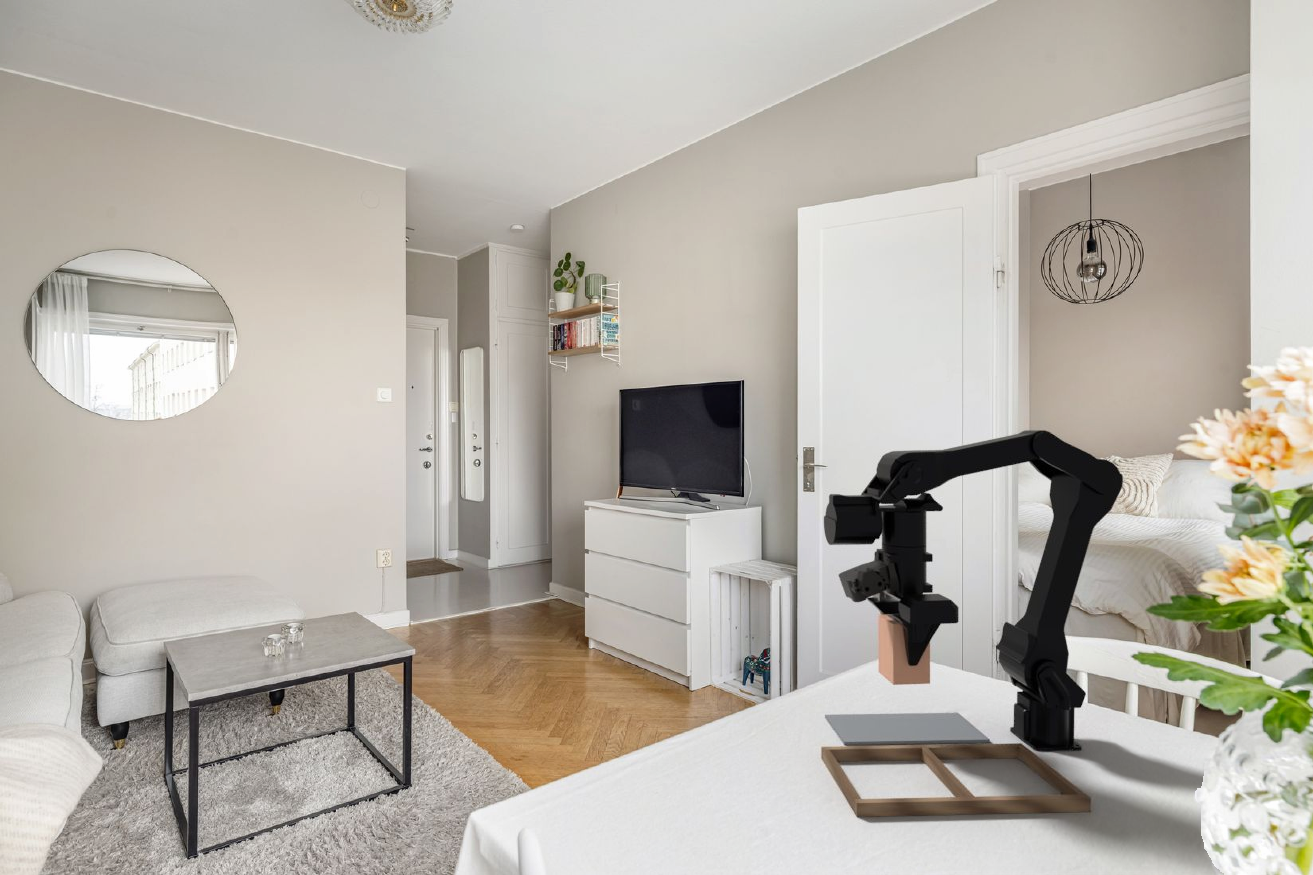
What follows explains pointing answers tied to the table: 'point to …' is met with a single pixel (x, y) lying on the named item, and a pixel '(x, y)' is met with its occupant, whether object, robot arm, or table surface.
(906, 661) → the peach block
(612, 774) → the table surface
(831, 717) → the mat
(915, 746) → the organizer
